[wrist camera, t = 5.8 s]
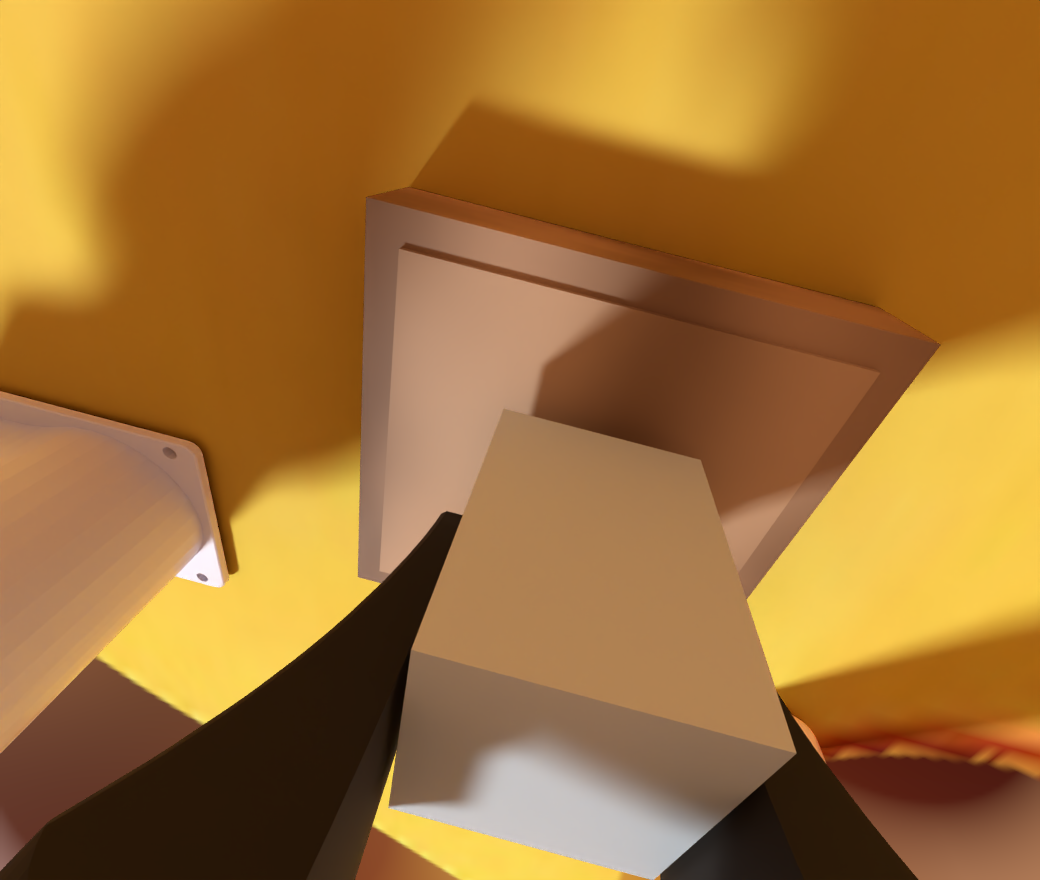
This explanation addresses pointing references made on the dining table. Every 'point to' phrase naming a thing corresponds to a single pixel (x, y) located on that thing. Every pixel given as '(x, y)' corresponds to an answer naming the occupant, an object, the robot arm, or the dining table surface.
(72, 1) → the dining table surface
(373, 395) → the walnut plinth
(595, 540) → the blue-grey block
